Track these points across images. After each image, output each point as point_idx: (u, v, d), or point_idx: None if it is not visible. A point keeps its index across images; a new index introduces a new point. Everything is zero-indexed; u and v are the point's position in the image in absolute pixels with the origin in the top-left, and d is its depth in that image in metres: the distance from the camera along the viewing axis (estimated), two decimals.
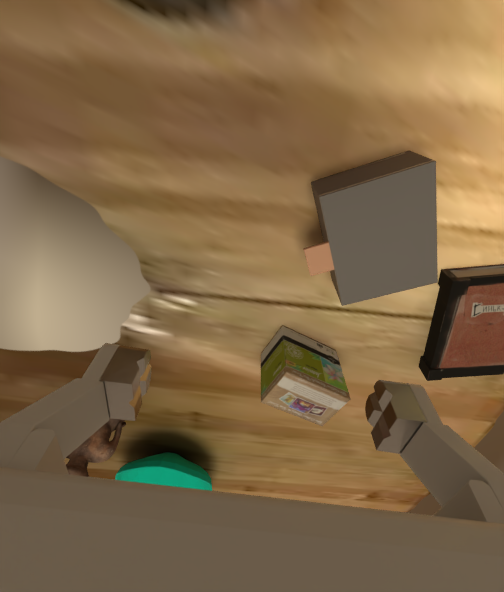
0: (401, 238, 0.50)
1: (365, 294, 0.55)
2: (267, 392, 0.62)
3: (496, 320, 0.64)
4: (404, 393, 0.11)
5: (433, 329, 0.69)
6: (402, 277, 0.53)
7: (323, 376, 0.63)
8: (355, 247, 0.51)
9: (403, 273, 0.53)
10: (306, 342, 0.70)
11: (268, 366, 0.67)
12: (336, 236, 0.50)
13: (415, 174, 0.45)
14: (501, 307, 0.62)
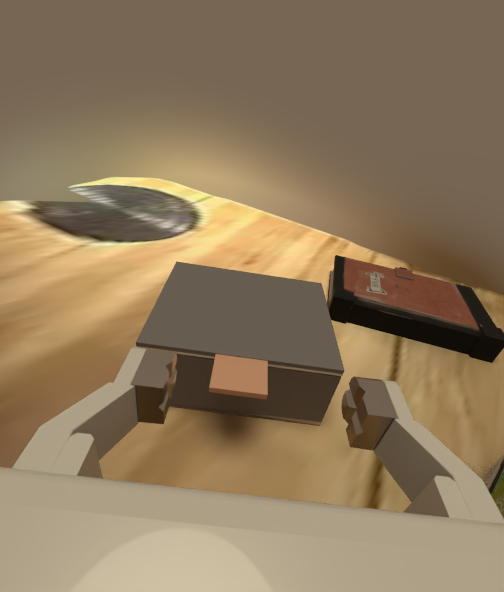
0: (248, 293, 0.39)
1: (326, 339, 0.34)
2: None
3: (391, 282, 0.58)
4: (377, 390, 0.11)
5: (414, 333, 0.51)
6: (306, 303, 0.40)
7: None
8: (239, 329, 0.34)
9: (299, 301, 0.40)
10: None
11: None
12: (210, 342, 0.31)
13: (179, 272, 0.41)
14: (373, 277, 0.59)
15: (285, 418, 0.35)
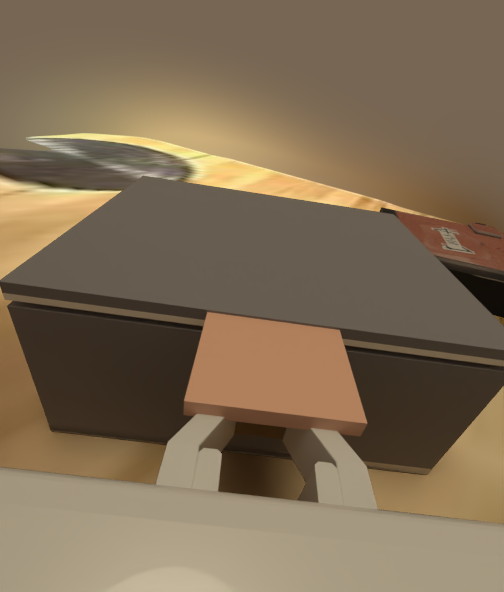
0: (273, 218, 0.21)
1: (449, 290, 0.16)
2: None
3: (473, 239, 0.39)
4: None
5: None
6: (381, 236, 0.21)
7: None
8: (262, 267, 0.15)
9: (369, 233, 0.21)
10: None
11: None
12: (194, 288, 0.13)
13: (144, 186, 0.23)
14: (445, 233, 0.39)
15: None
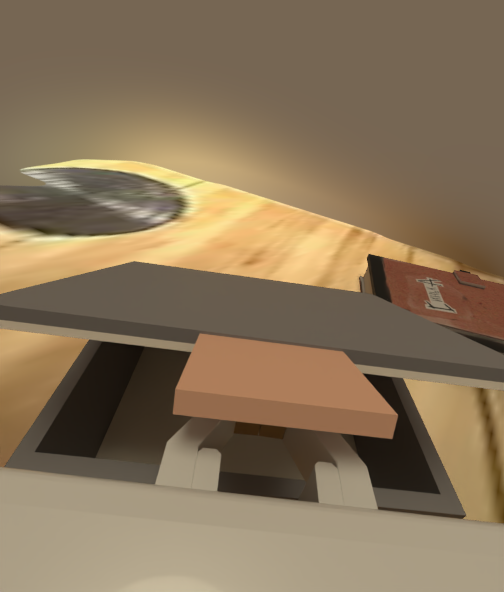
0: (260, 288, 0.22)
1: (444, 334, 0.16)
2: None
3: (456, 293, 0.40)
4: None
5: None
6: (365, 303, 0.22)
7: None
8: (254, 311, 0.15)
9: (353, 301, 0.22)
10: None
11: None
12: (185, 318, 0.12)
13: (135, 266, 0.24)
14: (429, 286, 0.40)
15: None
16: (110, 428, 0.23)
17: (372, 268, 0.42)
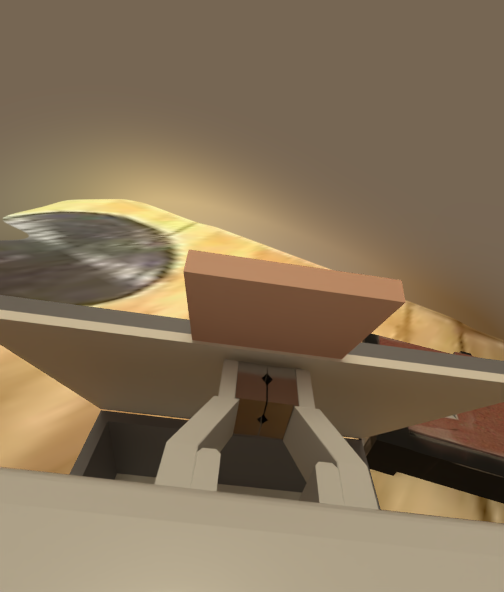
0: None
1: None
2: None
3: None
4: (286, 377, 0.10)
5: None
6: None
7: None
8: None
9: None
10: None
11: None
12: None
13: None
14: None
15: None
16: None
17: None
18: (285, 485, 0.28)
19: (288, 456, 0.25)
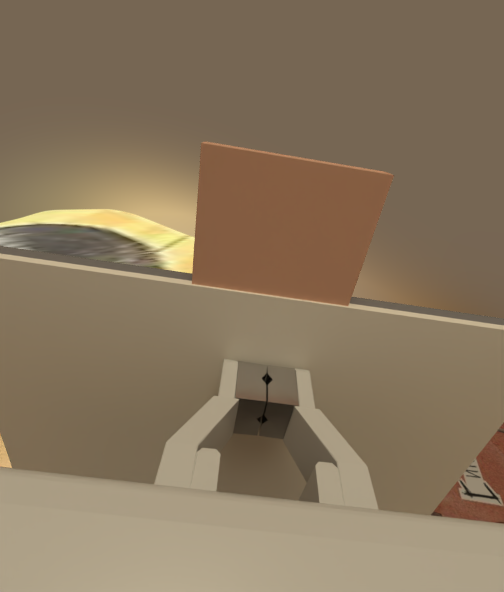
0: None
1: None
2: None
3: (495, 453, 0.30)
4: (286, 377, 0.10)
5: None
6: None
7: None
8: None
9: None
10: None
11: None
12: None
13: None
14: None
15: None
16: None
17: None
18: None
19: None
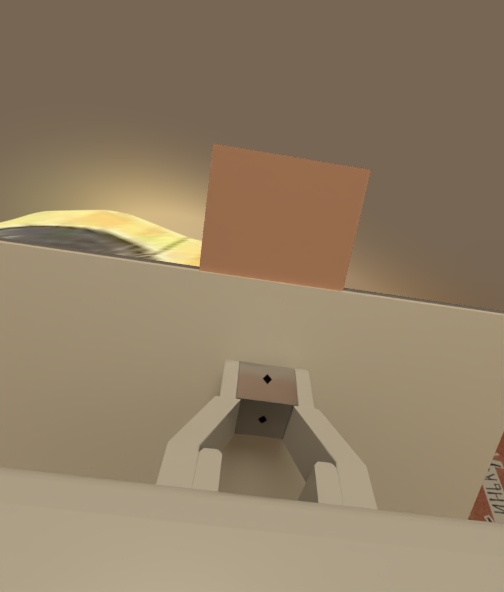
0: None
1: None
2: None
3: None
4: (285, 377, 0.10)
5: None
6: None
7: None
8: None
9: None
10: None
11: None
12: None
13: None
14: None
15: None
16: None
17: None
18: None
19: None
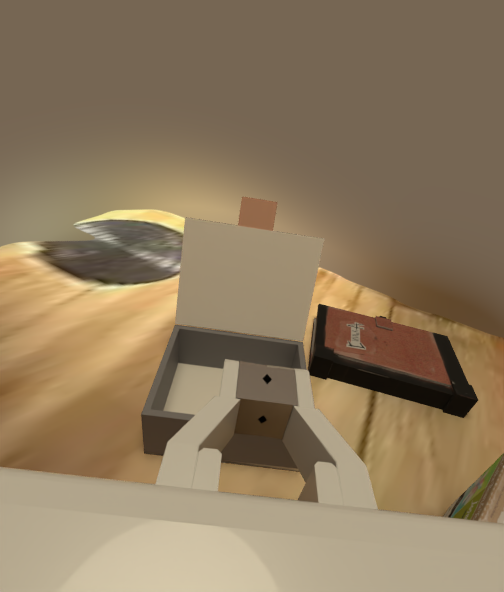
0: None
1: None
2: None
3: (371, 334, 0.61)
4: (285, 377, 0.10)
5: (390, 389, 0.54)
6: None
7: (476, 496, 0.30)
8: None
9: None
10: None
11: None
12: None
13: None
14: (353, 329, 0.62)
15: (269, 465, 0.41)
16: (165, 406, 0.46)
17: (318, 316, 0.64)
18: None
19: (266, 350, 0.50)
